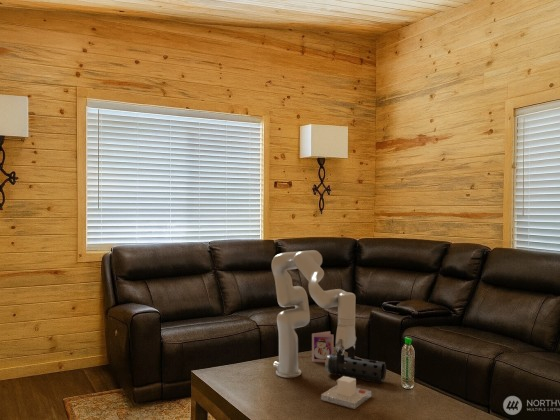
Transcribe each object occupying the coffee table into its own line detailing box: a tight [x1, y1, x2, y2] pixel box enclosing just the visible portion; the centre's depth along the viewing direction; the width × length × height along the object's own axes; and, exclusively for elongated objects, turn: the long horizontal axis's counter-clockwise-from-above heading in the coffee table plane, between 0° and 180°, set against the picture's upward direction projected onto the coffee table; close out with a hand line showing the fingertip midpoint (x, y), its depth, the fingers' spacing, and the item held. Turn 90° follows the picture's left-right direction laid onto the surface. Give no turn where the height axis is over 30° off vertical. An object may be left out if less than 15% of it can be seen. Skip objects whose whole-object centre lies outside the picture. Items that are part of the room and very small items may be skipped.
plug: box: [335, 376, 357, 397], centre depth 217 cm, size 8×6×8 cm
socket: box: [320, 383, 372, 410], centre depth 217 cm, size 16×16×3 cm
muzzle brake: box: [324, 353, 387, 384], centre depth 241 cm, size 10×28×10 cm, turn 62°
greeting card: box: [311, 330, 335, 363], centre depth 267 cm, size 11×7×15 cm, turn 81°
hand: (345, 360), depth 217 cm, fingers open, 9 cm apart
